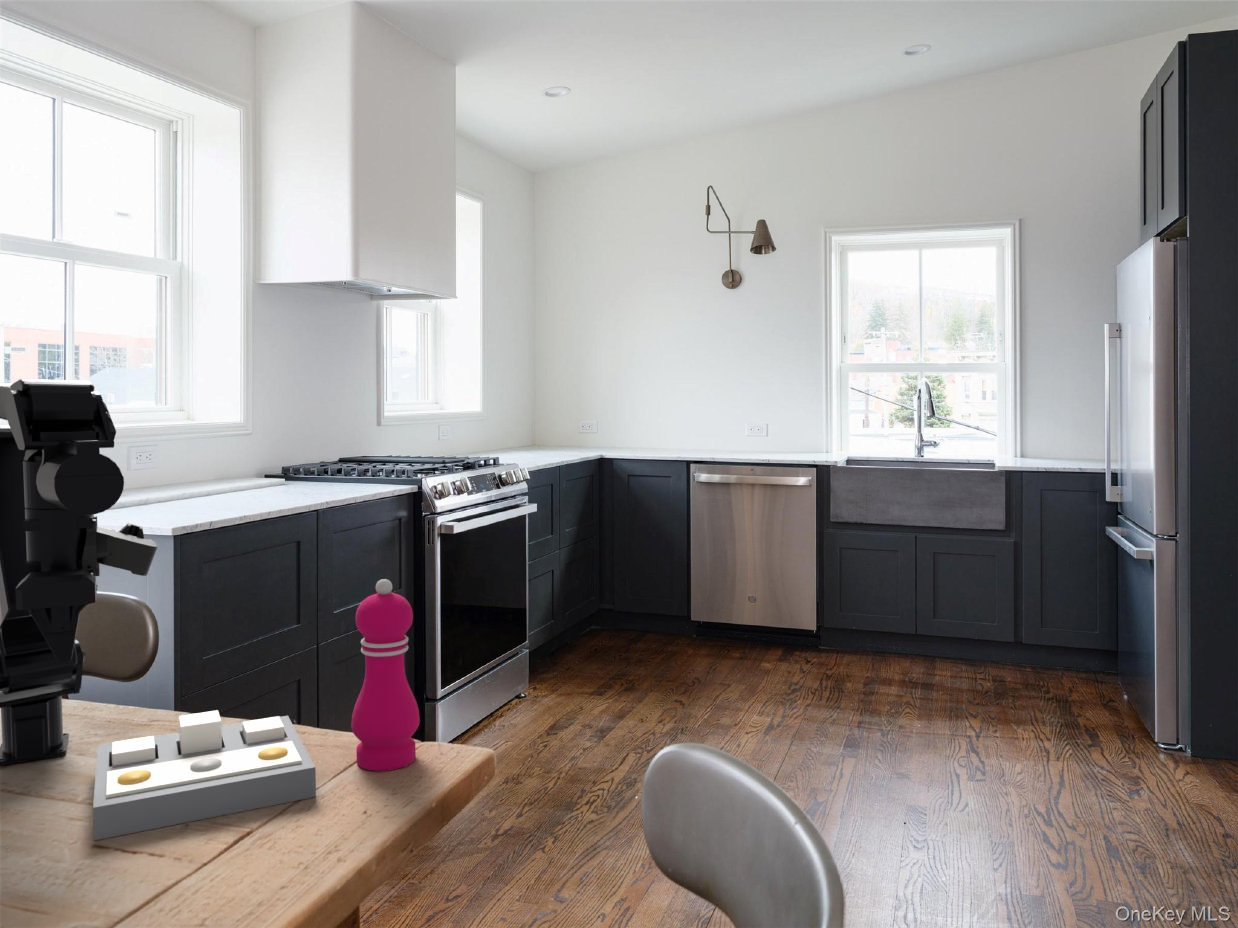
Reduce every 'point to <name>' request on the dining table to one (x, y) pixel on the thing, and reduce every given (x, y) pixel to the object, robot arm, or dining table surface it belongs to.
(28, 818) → the dining table surface
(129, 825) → the button panel
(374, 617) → the pepper mill
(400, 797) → the dining table surface
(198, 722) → the middle button
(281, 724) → the button
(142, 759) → the button
